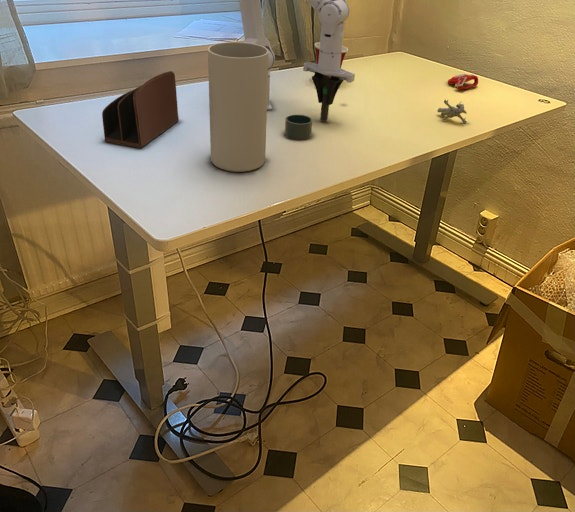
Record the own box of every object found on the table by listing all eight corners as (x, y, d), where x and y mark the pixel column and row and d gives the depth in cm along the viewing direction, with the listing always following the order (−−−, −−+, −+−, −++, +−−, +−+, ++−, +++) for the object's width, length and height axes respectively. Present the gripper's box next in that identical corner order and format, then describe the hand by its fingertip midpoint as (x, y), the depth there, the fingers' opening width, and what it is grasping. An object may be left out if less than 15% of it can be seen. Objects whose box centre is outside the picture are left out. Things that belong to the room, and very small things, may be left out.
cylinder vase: (237, 145, 135) (237, 39, 121) (276, 161, 129) (281, 51, 115) (199, 161, 127) (195, 48, 113) (238, 178, 121) (239, 61, 107)
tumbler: (287, 140, 140) (288, 124, 137) (282, 130, 145) (283, 114, 143) (313, 139, 141) (314, 124, 139) (308, 129, 146) (309, 114, 144)
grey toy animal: (456, 114, 163) (477, 114, 154) (445, 131, 162) (466, 131, 154) (435, 92, 158) (455, 91, 150) (423, 110, 158) (443, 109, 150)
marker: (320, 121, 151) (323, 88, 146) (319, 118, 152) (322, 86, 147) (328, 121, 151) (331, 88, 146) (326, 118, 153) (330, 85, 148)
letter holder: (179, 121, 147) (176, 67, 139) (141, 149, 131) (135, 90, 123) (145, 115, 149) (140, 61, 141) (104, 142, 133) (96, 83, 125)
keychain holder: (442, 77, 188) (470, 70, 188) (443, 90, 190) (471, 83, 190) (456, 79, 177) (486, 72, 177) (458, 93, 179) (487, 86, 179)
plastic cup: (345, 89, 176) (350, 50, 169) (311, 88, 175) (314, 48, 169) (343, 79, 185) (347, 42, 178) (311, 77, 184) (313, 40, 178)
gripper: (362, 53, 141) (356, 105, 149) (315, 42, 147) (311, 93, 155) (349, 59, 136) (343, 112, 144) (300, 47, 142) (297, 99, 150)
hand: (325, 103), depth 149 cm, fingers closed on marker, 2 cm apart
